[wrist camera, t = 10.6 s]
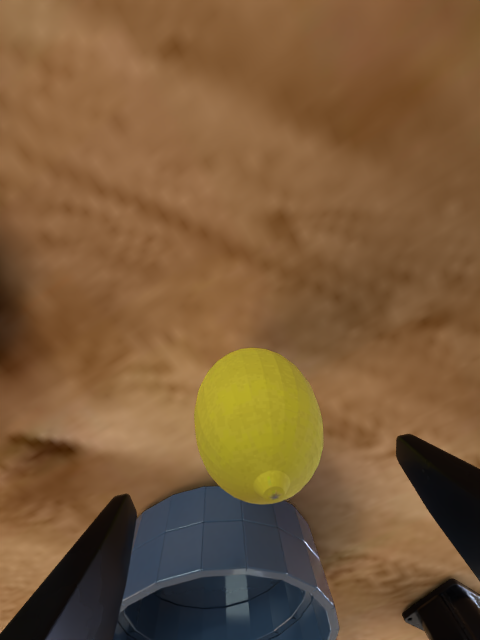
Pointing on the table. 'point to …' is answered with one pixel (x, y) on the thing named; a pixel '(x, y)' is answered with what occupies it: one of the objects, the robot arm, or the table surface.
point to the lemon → (258, 426)
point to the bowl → (224, 573)
